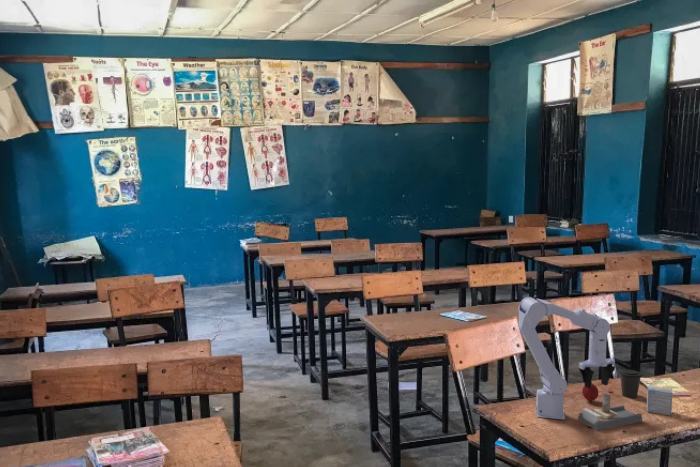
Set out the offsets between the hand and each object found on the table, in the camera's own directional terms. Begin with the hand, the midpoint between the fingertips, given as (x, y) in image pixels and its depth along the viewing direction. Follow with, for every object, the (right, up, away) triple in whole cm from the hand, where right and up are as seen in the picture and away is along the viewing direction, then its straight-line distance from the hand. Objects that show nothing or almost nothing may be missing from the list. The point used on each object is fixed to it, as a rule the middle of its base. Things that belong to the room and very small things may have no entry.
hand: (596, 385), depth 207 cm
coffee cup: (+21, -9, +17) cm, 29 cm away
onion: (+3, -9, +12) cm, 15 cm away
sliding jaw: (+1, -9, -6) cm, 11 cm away
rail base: (+3, -11, -5) cm, 13 cm away
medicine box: (+24, -10, +2) cm, 26 cm away
